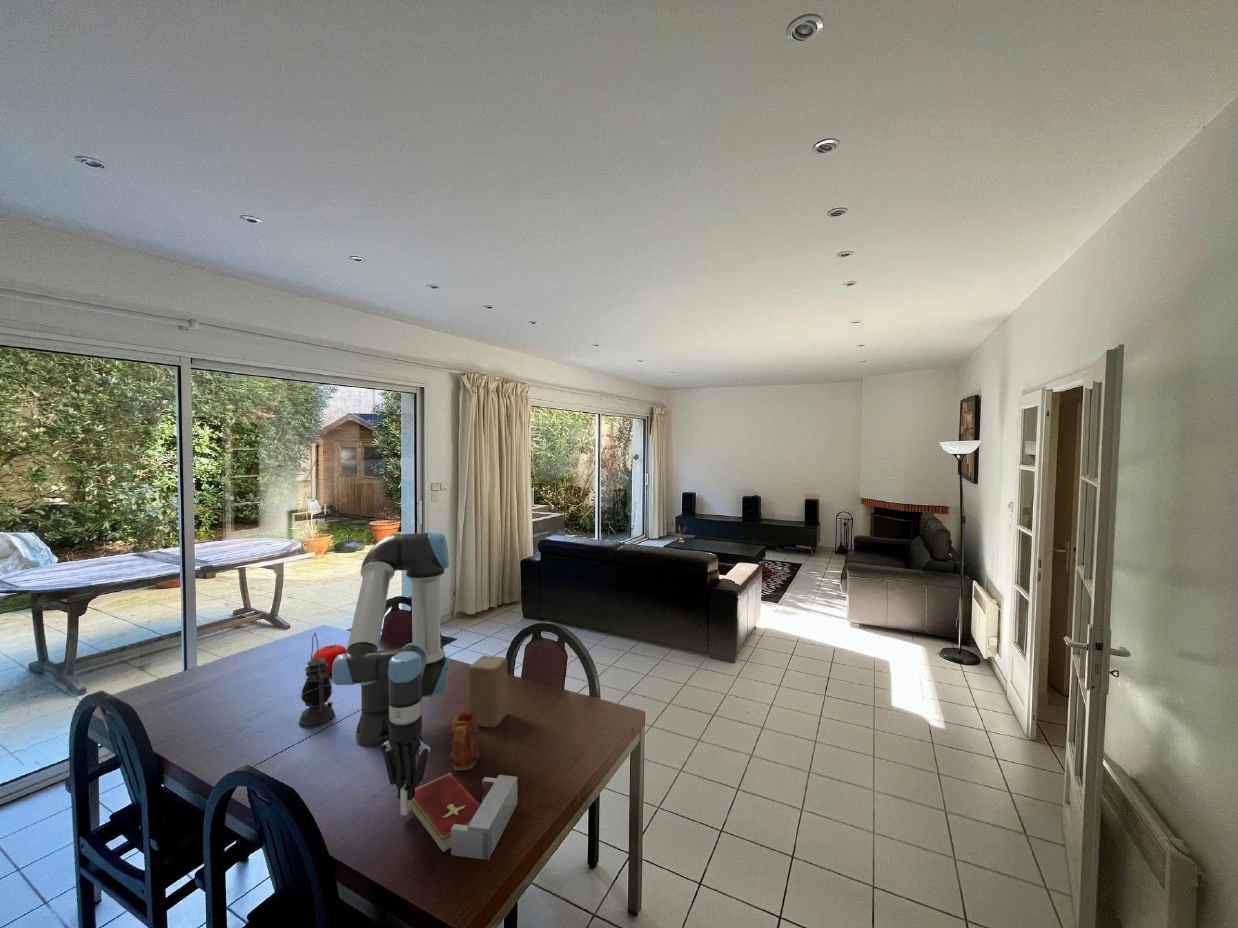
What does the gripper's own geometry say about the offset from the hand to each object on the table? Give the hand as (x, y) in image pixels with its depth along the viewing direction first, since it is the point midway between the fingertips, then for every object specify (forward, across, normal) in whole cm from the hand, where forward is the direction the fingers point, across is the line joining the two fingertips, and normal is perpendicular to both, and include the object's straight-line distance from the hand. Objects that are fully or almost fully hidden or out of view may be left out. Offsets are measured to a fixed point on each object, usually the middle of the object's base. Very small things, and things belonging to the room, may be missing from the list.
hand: (406, 811), depth 123 cm
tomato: (+2, -79, +71) cm, 107 cm away
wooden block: (+2, +2, +46) cm, 46 cm away
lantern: (+2, -56, +37) cm, 68 cm away
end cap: (+2, +20, 0) cm, 21 cm away
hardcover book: (+2, +10, +2) cm, 10 cm away
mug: (+2, +6, +19) cm, 20 cm away
